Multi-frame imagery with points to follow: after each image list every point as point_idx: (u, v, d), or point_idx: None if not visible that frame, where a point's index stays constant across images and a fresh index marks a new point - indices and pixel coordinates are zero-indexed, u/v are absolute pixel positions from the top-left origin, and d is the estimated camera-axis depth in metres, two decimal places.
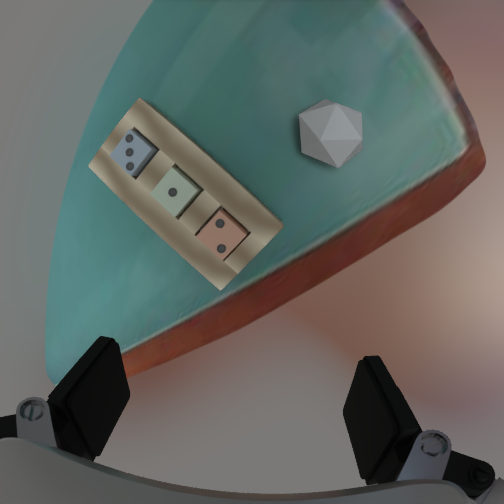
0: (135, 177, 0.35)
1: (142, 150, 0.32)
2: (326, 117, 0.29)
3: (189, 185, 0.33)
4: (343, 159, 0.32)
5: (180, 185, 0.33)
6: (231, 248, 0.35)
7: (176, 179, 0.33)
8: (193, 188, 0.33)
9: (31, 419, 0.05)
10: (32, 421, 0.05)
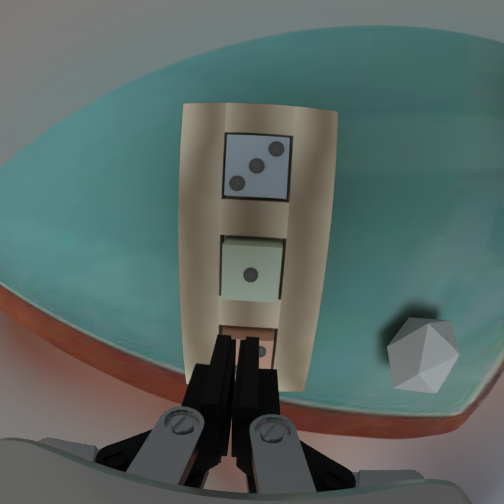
0: (222, 191, 0.22)
1: (273, 185, 0.20)
2: (442, 357, 0.21)
3: (276, 288, 0.22)
4: (406, 389, 0.24)
5: (267, 278, 0.22)
6: None
7: (271, 266, 0.21)
8: (276, 296, 0.22)
9: (175, 428, 0.06)
10: (173, 433, 0.06)
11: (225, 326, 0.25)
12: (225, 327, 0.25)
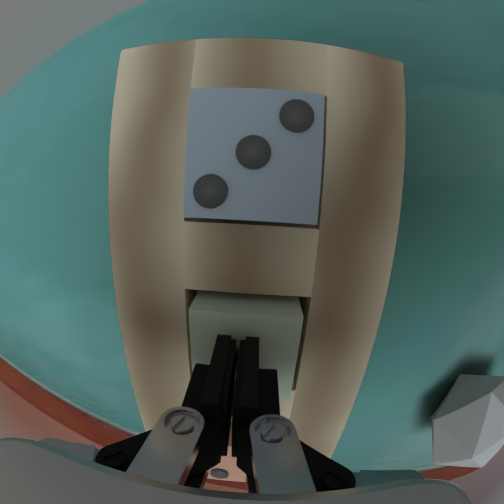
0: None
1: (291, 194, 0.09)
2: (501, 432, 0.11)
3: (288, 380, 0.11)
4: (448, 465, 0.13)
5: (273, 366, 0.11)
6: (233, 479, 0.13)
7: (280, 348, 0.11)
8: (288, 390, 0.12)
9: (175, 427, 0.06)
10: (173, 433, 0.06)
11: None
12: None
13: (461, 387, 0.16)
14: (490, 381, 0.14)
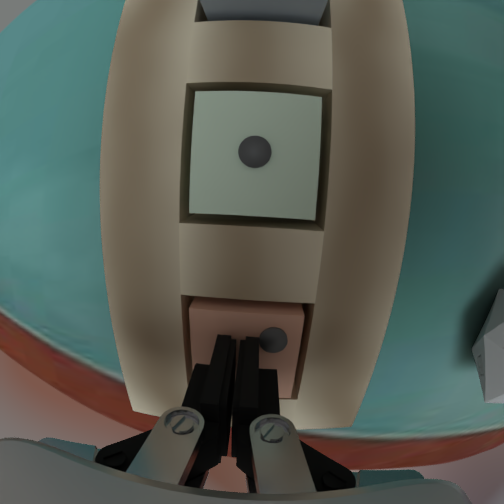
0: (199, 21, 0.09)
1: None
2: None
3: (311, 186, 0.09)
4: (503, 401, 0.11)
5: (291, 162, 0.09)
6: None
7: (299, 135, 0.09)
8: (312, 204, 0.10)
9: (175, 427, 0.06)
10: (173, 433, 0.06)
11: None
12: None
13: None
14: None
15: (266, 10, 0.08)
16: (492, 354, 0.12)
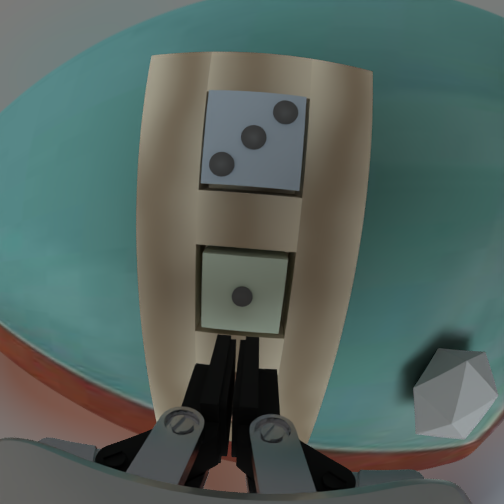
0: None
1: (280, 168, 0.12)
2: (479, 401, 0.14)
3: (277, 315, 0.16)
4: (430, 435, 0.17)
5: (265, 302, 0.15)
6: None
7: (271, 286, 0.15)
8: (276, 325, 0.16)
9: (175, 427, 0.06)
10: (173, 433, 0.06)
11: None
12: None
13: (439, 359, 0.19)
14: (466, 354, 0.18)
15: None
16: (419, 402, 0.18)
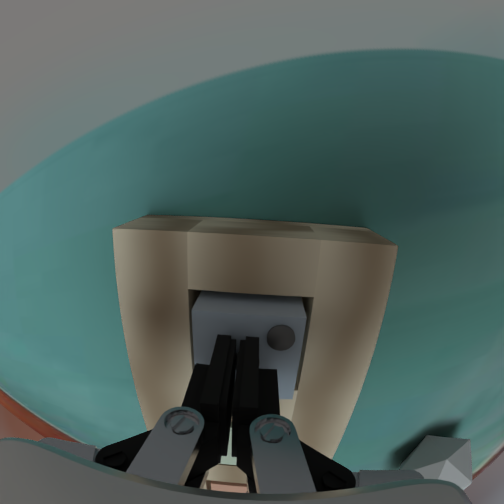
0: None
1: None
2: None
3: None
4: None
5: None
6: None
7: None
8: None
9: (176, 428, 0.06)
10: (173, 433, 0.06)
11: None
12: None
13: (425, 448, 0.18)
14: (450, 445, 0.16)
15: None
16: None
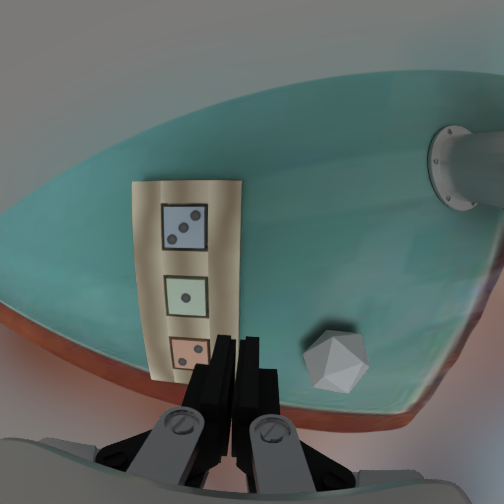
0: (163, 244, 0.31)
1: (195, 239, 0.30)
2: (345, 364, 0.31)
3: (203, 306, 0.32)
4: (322, 388, 0.34)
5: (196, 300, 0.32)
6: (189, 367, 0.34)
7: (198, 292, 0.32)
8: (204, 311, 0.32)
9: (175, 427, 0.06)
10: (174, 433, 0.06)
11: None
12: None
13: (322, 336, 0.36)
14: (341, 333, 0.35)
15: None
16: (307, 363, 0.34)
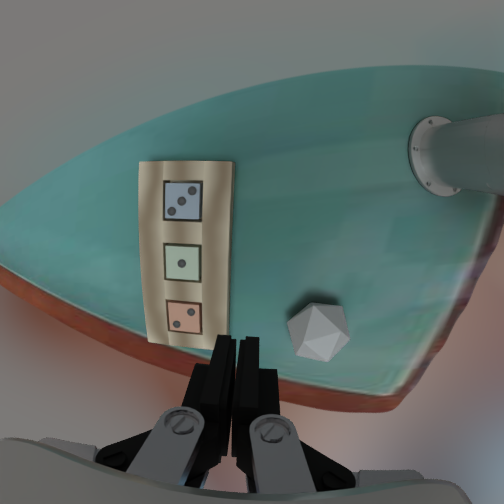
0: (164, 215, 0.36)
1: (191, 211, 0.35)
2: (324, 331, 0.35)
3: (196, 272, 0.37)
4: (304, 356, 0.38)
5: (191, 265, 0.36)
6: (182, 330, 0.39)
7: (192, 258, 0.36)
8: (197, 276, 0.37)
9: (175, 427, 0.06)
10: (173, 433, 0.06)
11: None
12: None
13: (306, 307, 0.40)
14: None
15: None
16: (290, 331, 0.39)
